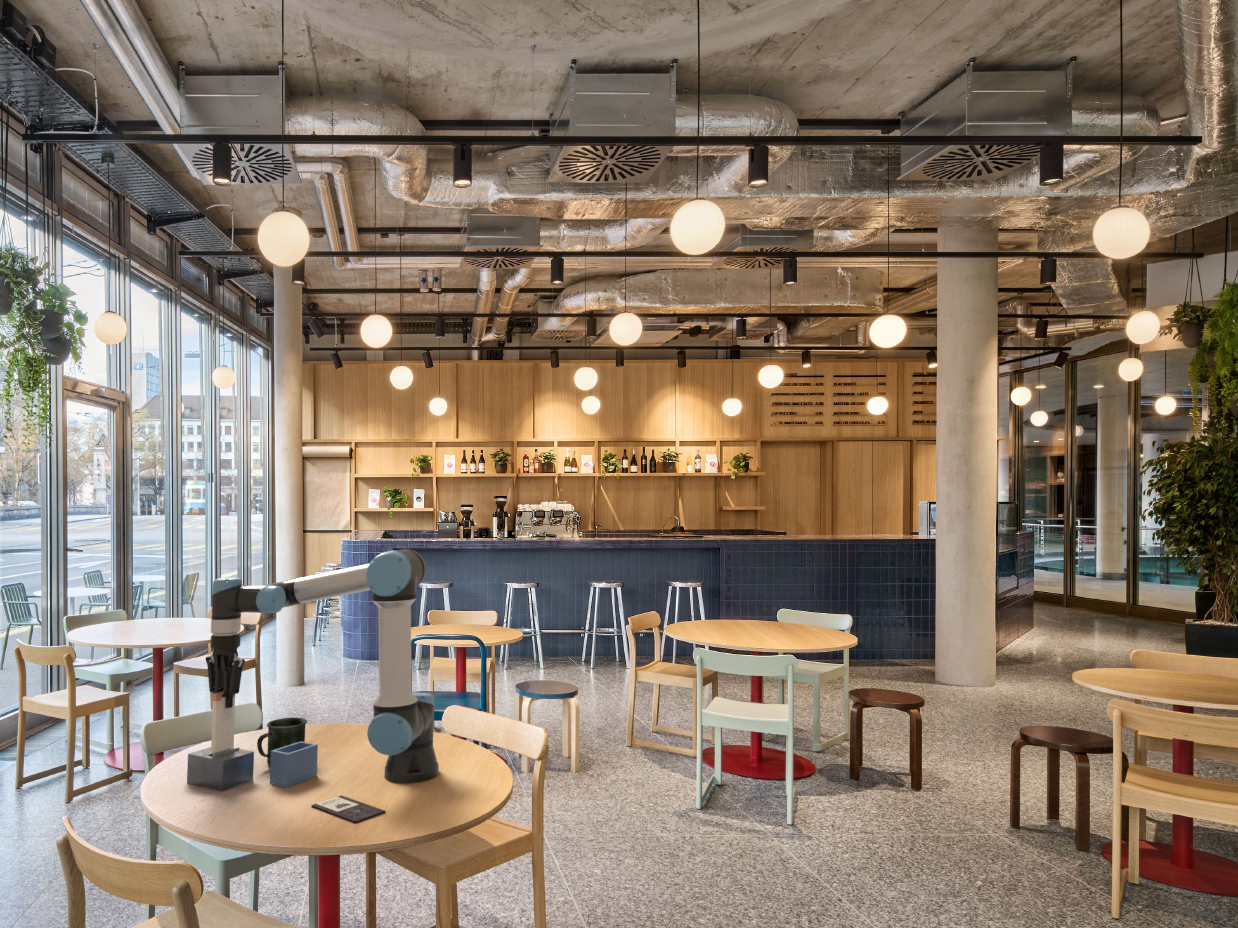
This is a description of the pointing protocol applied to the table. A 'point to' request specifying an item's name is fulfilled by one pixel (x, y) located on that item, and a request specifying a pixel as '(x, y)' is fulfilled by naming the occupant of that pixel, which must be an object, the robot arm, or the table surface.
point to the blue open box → (293, 763)
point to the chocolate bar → (348, 809)
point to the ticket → (221, 726)
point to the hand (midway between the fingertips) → (223, 718)
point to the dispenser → (220, 768)
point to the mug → (282, 734)
